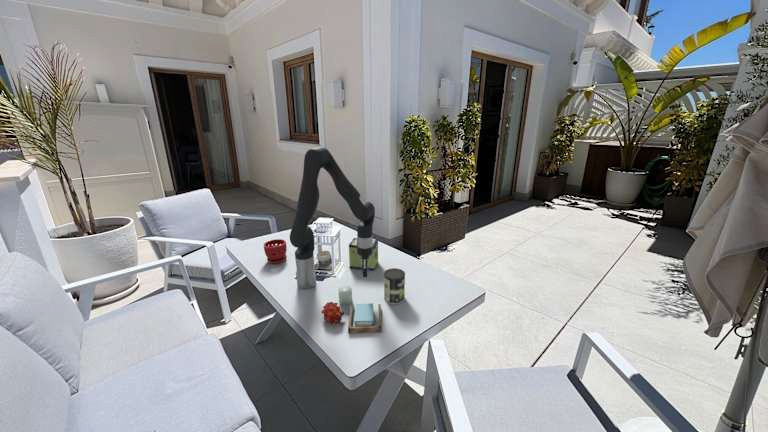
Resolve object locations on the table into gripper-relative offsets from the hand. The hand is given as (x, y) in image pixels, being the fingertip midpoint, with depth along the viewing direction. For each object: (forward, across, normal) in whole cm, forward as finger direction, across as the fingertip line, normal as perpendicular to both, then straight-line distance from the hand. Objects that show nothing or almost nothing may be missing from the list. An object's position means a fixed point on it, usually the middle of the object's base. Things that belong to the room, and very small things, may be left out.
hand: (364, 276), depth 145 cm
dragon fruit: (+13, +16, -14) cm, 25 cm away
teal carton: (+12, +17, 0) cm, 21 cm away
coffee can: (+12, +1, +15) cm, 19 cm away
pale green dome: (+12, +3, -9) cm, 16 cm away
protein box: (+13, -33, -2) cm, 35 cm away
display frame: (+12, +17, +1) cm, 21 cm away
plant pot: (+14, -42, -56) cm, 72 cm away
